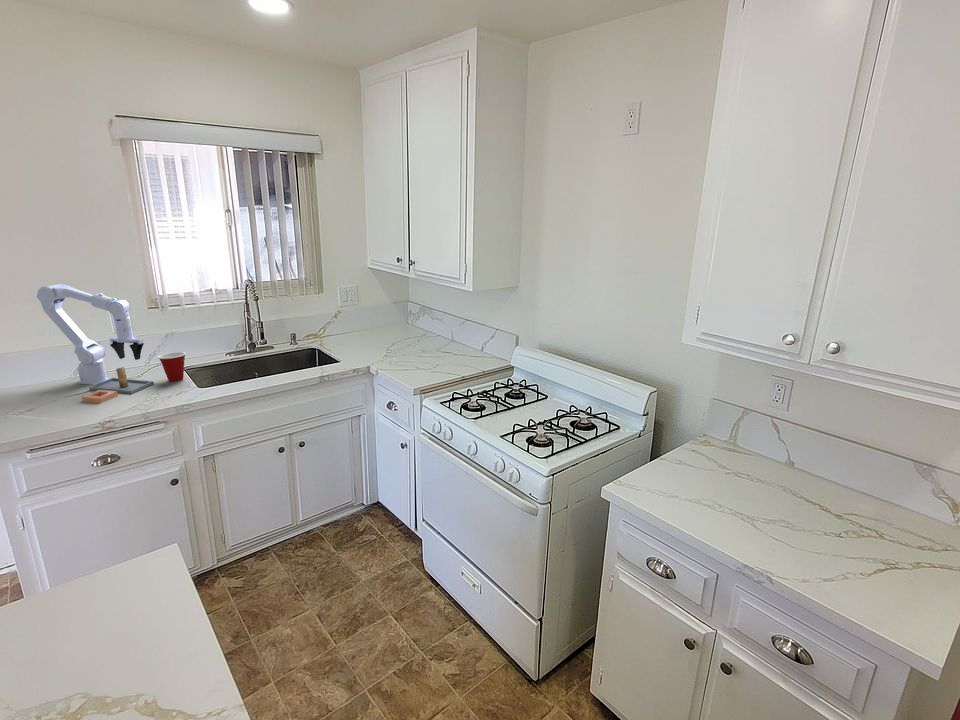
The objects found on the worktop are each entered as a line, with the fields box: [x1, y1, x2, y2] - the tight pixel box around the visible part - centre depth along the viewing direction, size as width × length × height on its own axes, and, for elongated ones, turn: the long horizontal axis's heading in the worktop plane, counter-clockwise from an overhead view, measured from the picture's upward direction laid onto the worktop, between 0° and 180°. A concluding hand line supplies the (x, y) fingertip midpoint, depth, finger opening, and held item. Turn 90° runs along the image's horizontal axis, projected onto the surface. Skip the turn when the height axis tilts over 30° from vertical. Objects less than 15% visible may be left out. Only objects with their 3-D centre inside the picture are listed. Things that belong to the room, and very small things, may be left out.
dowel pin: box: [116, 367, 128, 388], centre depth 220 cm, size 3×3×8 cm
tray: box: [88, 377, 155, 395], centre depth 222 cm, size 20×12×2 cm, turn 81°
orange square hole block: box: [81, 390, 119, 404], centre depth 209 cm, size 8×8×2 cm
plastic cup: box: [157, 351, 186, 383], centre depth 231 cm, size 11×11×12 cm
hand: (130, 358), depth 227 cm, fingers open, 7 cm apart
